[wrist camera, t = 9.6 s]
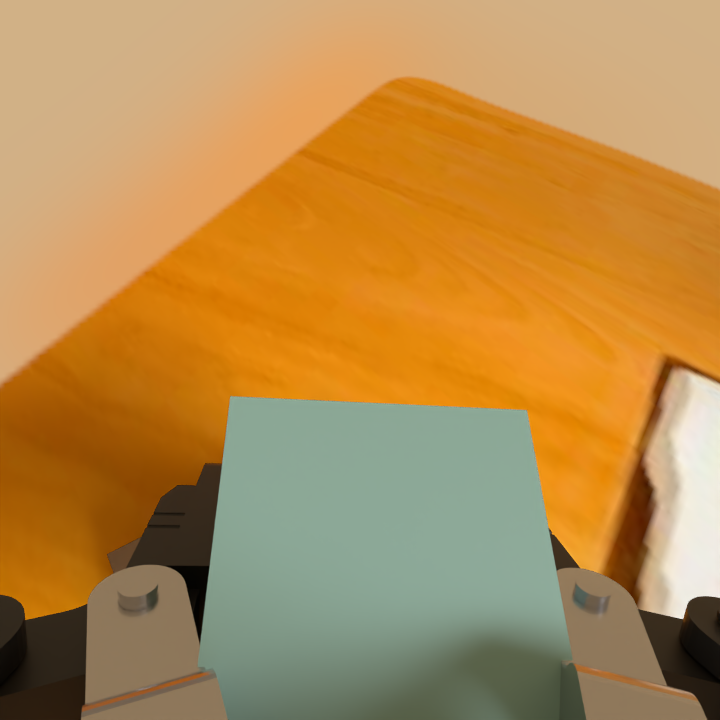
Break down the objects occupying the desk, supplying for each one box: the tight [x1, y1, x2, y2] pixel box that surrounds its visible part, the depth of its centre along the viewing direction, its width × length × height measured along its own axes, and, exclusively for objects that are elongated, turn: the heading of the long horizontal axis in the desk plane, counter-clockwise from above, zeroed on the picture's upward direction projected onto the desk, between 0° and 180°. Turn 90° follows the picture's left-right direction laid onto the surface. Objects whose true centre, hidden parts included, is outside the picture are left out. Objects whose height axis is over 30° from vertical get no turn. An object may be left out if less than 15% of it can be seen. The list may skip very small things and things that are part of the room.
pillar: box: [197, 396, 573, 720], centre depth 12 cm, size 4×4×11 cm
